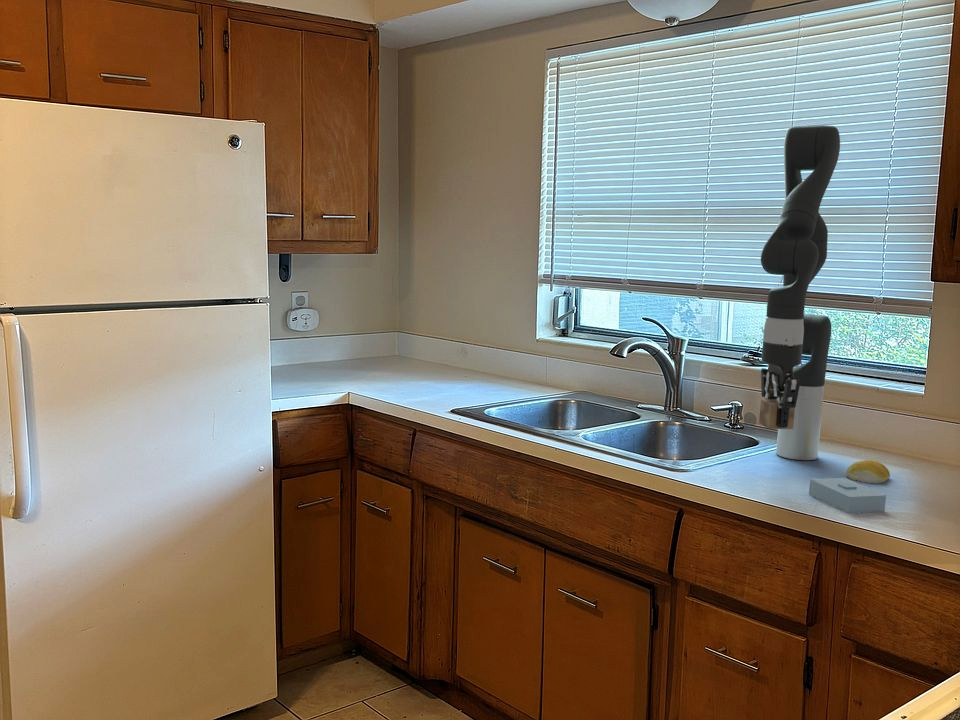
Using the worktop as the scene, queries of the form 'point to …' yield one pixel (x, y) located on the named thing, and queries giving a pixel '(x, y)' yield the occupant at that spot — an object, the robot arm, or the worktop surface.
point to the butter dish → (847, 495)
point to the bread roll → (868, 472)
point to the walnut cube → (773, 414)
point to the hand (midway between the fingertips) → (776, 423)
